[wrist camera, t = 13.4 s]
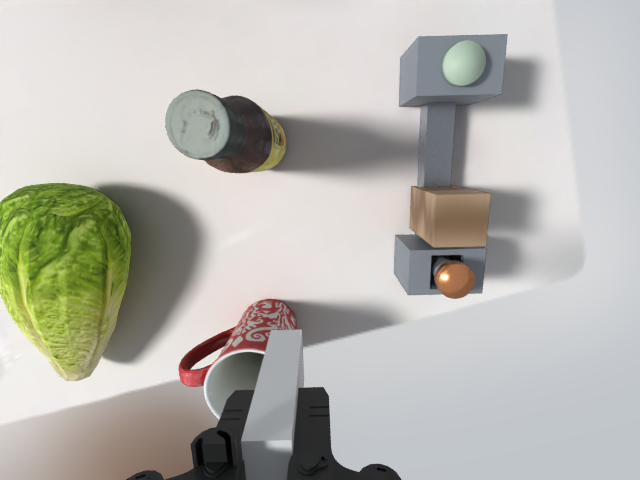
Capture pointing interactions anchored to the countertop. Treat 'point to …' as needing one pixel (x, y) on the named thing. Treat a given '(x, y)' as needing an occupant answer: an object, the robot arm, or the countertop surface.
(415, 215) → the carriage
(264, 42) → the countertop surface
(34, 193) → the lettuce
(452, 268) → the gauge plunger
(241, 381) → the mug
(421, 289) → the cabinet far
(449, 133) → the rail
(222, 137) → the sauce bottle
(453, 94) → the cabinet near
